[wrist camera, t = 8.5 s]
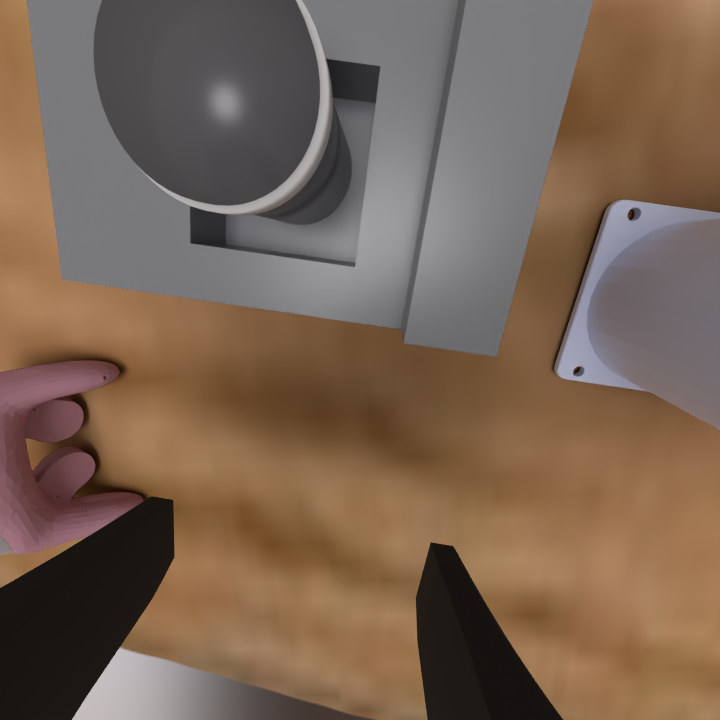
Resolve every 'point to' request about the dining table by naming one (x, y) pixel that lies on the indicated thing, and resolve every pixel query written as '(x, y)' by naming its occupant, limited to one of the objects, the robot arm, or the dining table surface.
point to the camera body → (368, 179)
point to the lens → (225, 104)
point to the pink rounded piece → (50, 458)
